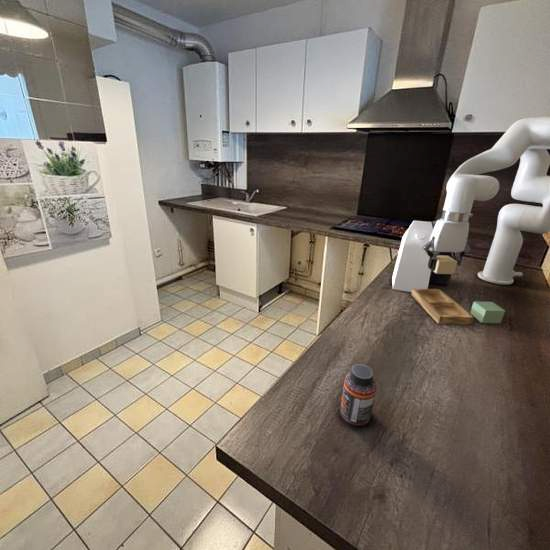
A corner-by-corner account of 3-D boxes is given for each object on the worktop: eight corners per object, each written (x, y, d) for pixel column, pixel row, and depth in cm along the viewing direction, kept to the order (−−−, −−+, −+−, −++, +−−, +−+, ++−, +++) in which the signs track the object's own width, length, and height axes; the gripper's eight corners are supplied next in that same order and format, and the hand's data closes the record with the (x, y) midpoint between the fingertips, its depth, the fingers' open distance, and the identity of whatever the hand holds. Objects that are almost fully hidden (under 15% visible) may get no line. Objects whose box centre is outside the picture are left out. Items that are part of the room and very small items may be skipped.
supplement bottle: (336, 403, 61) (342, 360, 57) (363, 402, 61) (371, 359, 57) (344, 428, 55) (352, 382, 51) (374, 426, 56) (384, 381, 52)
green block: (487, 313, 97) (492, 301, 95) (500, 323, 92) (505, 310, 90) (470, 313, 97) (473, 301, 95) (481, 322, 92) (485, 310, 90)
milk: (422, 282, 120) (438, 220, 110) (426, 294, 110) (443, 226, 100) (391, 278, 123) (403, 217, 113) (392, 289, 113) (405, 223, 103)
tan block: (444, 267, 102) (447, 255, 101) (454, 274, 97) (457, 261, 95) (427, 267, 102) (430, 255, 101) (436, 273, 97) (439, 261, 95)
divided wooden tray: (438, 295, 109) (440, 289, 108) (471, 324, 91) (474, 317, 90) (411, 294, 109) (412, 288, 108) (438, 323, 91) (440, 316, 90)
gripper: (474, 215, 96) (459, 266, 103) (422, 214, 96) (410, 265, 103) (489, 220, 89) (472, 274, 96) (433, 218, 89) (420, 273, 96)
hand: (440, 269), depth 99 cm, fingers closed on tan block, 6 cm apart
